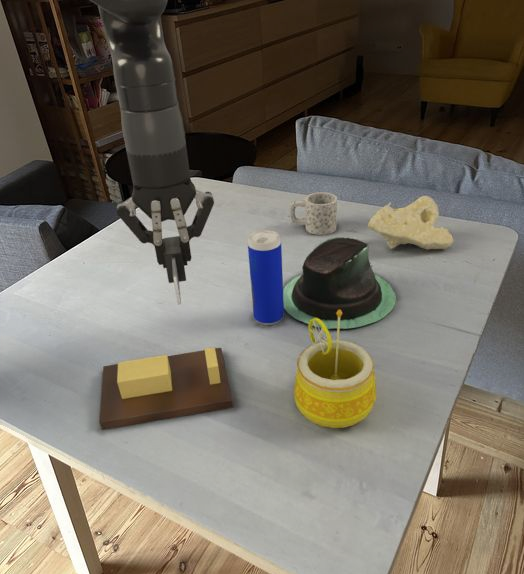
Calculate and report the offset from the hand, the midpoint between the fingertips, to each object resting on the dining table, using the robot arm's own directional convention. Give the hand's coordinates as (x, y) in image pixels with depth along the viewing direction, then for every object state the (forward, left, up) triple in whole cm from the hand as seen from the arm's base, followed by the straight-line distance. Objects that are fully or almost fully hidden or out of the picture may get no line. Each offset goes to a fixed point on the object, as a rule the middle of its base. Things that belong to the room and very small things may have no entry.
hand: (175, 263), depth 78 cm
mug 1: (+30, +34, -14) cm, 48 cm away
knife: (0, -5, 0) cm, 5 cm away
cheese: (+45, +19, -14) cm, 51 cm away
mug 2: (+19, -19, -14) cm, 30 cm away
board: (-4, -11, -14) cm, 18 cm away
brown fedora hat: (+27, +6, -14) cm, 31 cm away
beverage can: (+14, +3, -14) cm, 20 cm away
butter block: (-7, -11, -13) cm, 18 cm away
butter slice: (+3, -11, -13) cm, 17 cm away
